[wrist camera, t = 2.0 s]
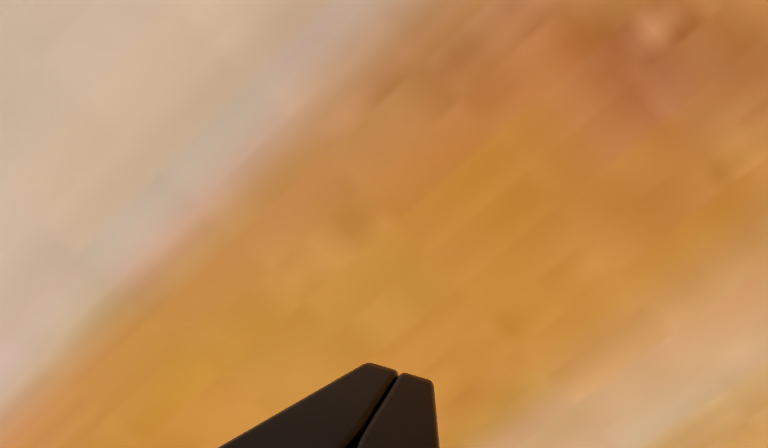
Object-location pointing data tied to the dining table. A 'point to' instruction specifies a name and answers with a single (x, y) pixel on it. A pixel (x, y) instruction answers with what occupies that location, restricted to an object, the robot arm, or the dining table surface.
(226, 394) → the dining table surface
